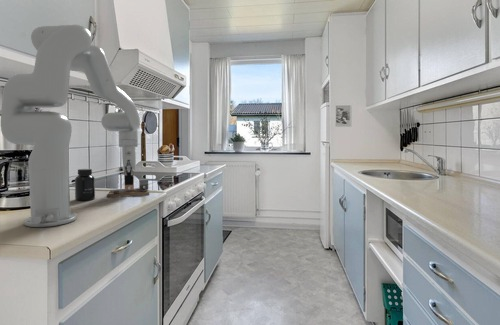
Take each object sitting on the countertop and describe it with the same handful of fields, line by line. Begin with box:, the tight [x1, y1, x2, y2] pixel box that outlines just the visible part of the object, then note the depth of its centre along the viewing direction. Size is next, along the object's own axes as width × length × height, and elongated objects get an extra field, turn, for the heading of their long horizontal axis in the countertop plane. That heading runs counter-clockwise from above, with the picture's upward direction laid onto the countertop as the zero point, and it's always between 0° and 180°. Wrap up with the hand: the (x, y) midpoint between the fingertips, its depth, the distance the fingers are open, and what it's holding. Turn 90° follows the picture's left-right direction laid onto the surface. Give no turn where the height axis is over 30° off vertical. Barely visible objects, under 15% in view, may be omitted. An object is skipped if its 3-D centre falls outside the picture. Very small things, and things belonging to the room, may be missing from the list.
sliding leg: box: [123, 169, 135, 190], centre depth 128 cm, size 6×4×8 cm, turn 22°
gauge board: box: [107, 178, 150, 198], centre depth 129 cm, size 9×16×6 cm, turn 112°
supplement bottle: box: [74, 168, 96, 202], centre depth 117 cm, size 7×7×12 cm
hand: (129, 183), depth 129 cm, fingers open, 9 cm apart
